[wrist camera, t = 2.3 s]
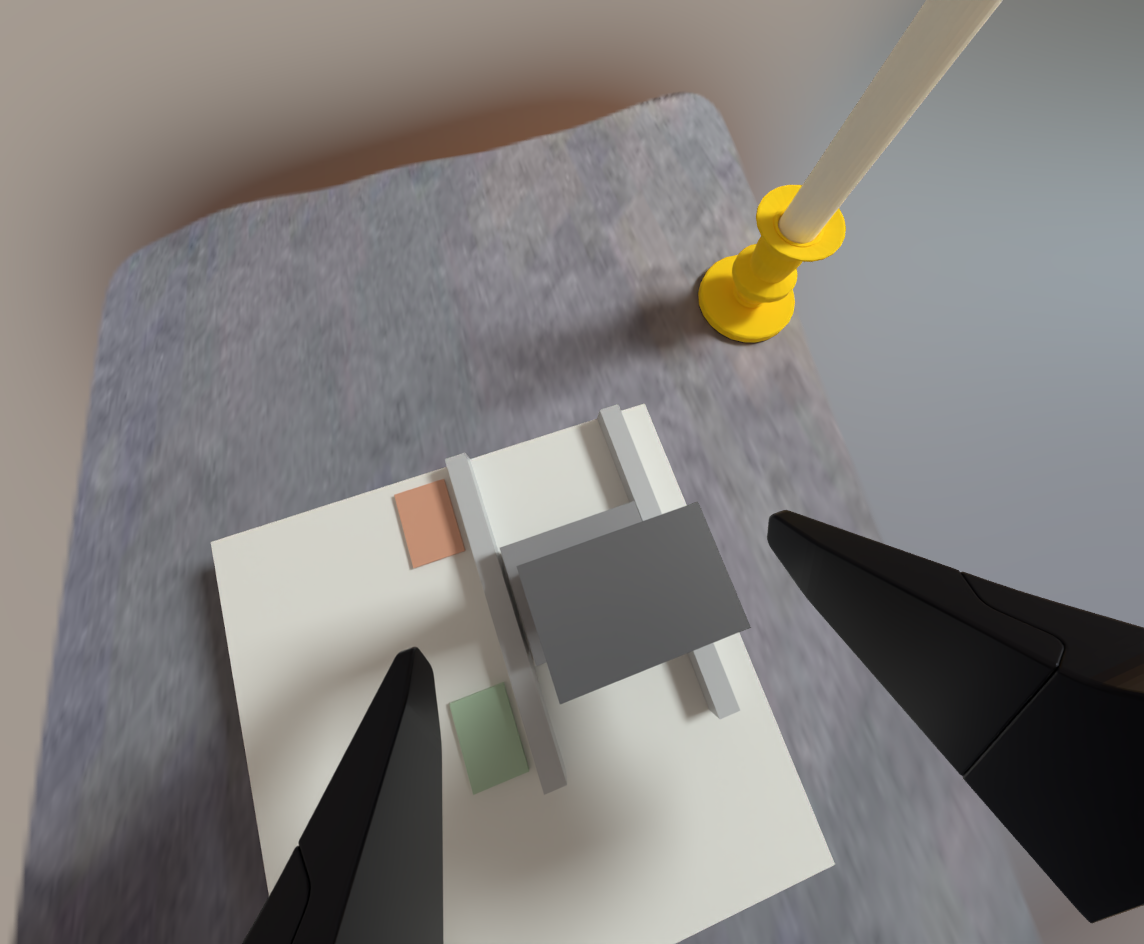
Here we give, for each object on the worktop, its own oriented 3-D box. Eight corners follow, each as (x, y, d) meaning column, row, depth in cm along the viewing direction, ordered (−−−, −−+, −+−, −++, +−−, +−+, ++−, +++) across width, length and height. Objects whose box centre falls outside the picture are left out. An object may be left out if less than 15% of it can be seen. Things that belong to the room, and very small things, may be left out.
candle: (809, 310, 23) (1326, -206, 8) (741, 361, 22) (1177, -110, 7) (745, 245, 23) (1099, -340, 8) (678, 291, 23) (937, -272, 7)
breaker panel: (786, 813, 17) (855, 886, 13) (355, 1016, 15) (284, 1175, 11) (631, 426, 21) (649, 394, 17) (264, 546, 18) (187, 540, 15)
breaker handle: (661, 605, 16) (839, 671, 6) (538, 653, 15) (513, 811, 5) (624, 508, 16) (728, 425, 7) (506, 550, 16) (432, 524, 6)
